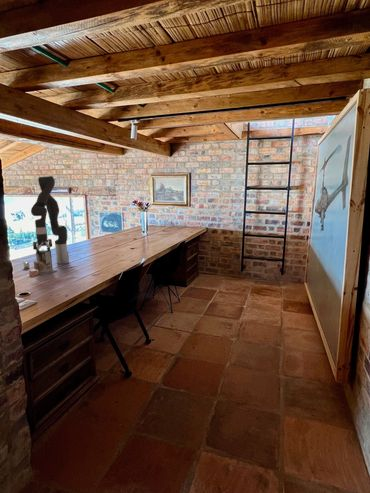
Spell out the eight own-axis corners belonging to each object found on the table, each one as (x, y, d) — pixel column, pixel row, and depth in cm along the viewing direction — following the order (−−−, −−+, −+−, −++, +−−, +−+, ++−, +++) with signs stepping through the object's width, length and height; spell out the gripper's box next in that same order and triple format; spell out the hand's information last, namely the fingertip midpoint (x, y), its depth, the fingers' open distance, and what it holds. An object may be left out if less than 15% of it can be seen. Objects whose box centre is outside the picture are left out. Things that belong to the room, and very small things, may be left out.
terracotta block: (34, 274, 215) (33, 269, 214) (37, 274, 213) (37, 269, 212) (29, 275, 211) (28, 270, 210) (32, 276, 209) (32, 271, 209)
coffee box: (53, 270, 221) (51, 250, 218) (47, 272, 215) (45, 252, 212) (43, 269, 224) (41, 249, 220) (37, 271, 218) (35, 251, 214)
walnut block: (39, 265, 238) (39, 260, 237) (43, 266, 235) (43, 260, 234) (34, 267, 233) (33, 261, 232) (37, 268, 231) (37, 262, 230)
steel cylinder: (27, 267, 232) (27, 261, 231) (30, 268, 230) (29, 262, 229) (23, 268, 229) (22, 262, 228) (25, 269, 227) (25, 263, 226)
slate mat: (47, 269, 227) (47, 268, 227) (56, 271, 221) (56, 270, 221) (33, 273, 217) (33, 272, 217) (42, 275, 211) (42, 274, 211)
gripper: (46, 231, 221) (49, 251, 224) (29, 233, 208) (32, 254, 212) (53, 232, 217) (55, 252, 220) (35, 234, 205) (38, 256, 208)
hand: (43, 253), depth 216 cm, fingers open, 8 cm apart
